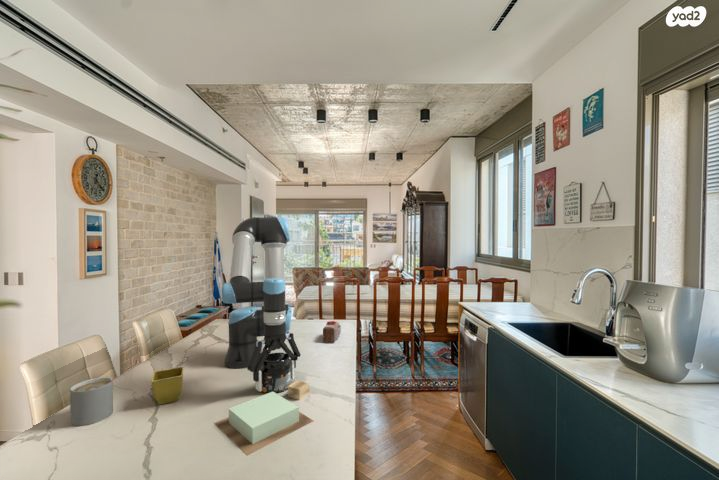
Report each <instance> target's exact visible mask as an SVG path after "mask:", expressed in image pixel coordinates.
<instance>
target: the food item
mask: <svg viewBox="0 0 719 480" xmlns="http://www.w3.org/2000/svg"><path fill="white" fill-rule="evenodd" d="M341 331H342V325H341V324H340V322H337V321H335V320H333V321H332V320H330V321H327V322H326V325H324V327H323V328H322V343H325V344H335V342H336V341H338V340H339V338H340V335H341Z"/></svg>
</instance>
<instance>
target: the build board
mask: <svg viewBox="0 0 719 480" xmlns="http://www.w3.org/2000/svg"><path fill="white" fill-rule="evenodd" d="M313 422H314V420H313V419H311V418H310V417H308V416H307V415H305V414H304V413H302V412H300V411H299V421H298V422H296V423H294V424H292V425H290V426H288V427H286V428H284V429H282V430H280V431H278V432H276V433H274V434H272V435H270V436H268V437H266V438H264V439H262V440H260V441H258V442H256V443H254V444H252V443H251V442H250V441H249V440H248V439H247V438H245V437H244V436H243V435H242V434H241V433H240V432H239V431H238V430H236V429H235V428H234V427H233V426H232V425H231V424H230V423H229V416H228V417H225V418H223V419H220V420H217V421H215V422H214V424H213V425H215V426H216V427H217V428H218V429H219V430H220V431H221V432H222V433H223V434H224V435H225V436H226V437H227V438H229V440H231V441H232V443H234V444H235V446H237V447H238V449H239V450H241V451H242V452H243V453H244V454H245V455H246V456H249V455H251V454H253V453H255V452H257V451H258V450H261V449H263V448H264V447H267V446H269V445H271V444H272V443H274V442H276V441H279V440H280V439H282V438H284V437H287V435H290V434H292V433H294V432H296V431H298V430H299V429H302V428H303V427H305V426H307V425H309V424H311V423H313Z"/></svg>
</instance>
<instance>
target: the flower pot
mask: <svg viewBox="0 0 719 480" xmlns="http://www.w3.org/2000/svg"><path fill="white" fill-rule="evenodd" d="M183 377H184V366H179V367H174V368H173V367H172V368H169V369H162V370H158V371H156V370H155V371H154V372H153V375H152V378H151V381H150V382H151V386H152V387H151V388H152V393H153V397H154V400H155V401H156V402H157V404H158V405H164V404H165V405H166V404H169V403H174V402H178V400H179V399H180V396H181V394H182V390H183V389H182V388H183V379H184V378H183Z"/></svg>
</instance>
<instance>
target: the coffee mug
mask: <svg viewBox="0 0 719 480" xmlns="http://www.w3.org/2000/svg"><path fill="white" fill-rule="evenodd" d="M113 384H114V383H113V378H112V377H108V376H103V377H96V378H91V379H86V380H83V381H81V382H80V381H79V382H78V383H76V384H74V385H73V386H71V387H70V389H69V395H70V398H69V399H70V400H69V401H70V405H69V407H70V425H71V426H74V427H84V426H90V425H93V424H96V423H99V422H101V421H104V420H106V419H107V418H109V417H110V416H112V414H114V413H113V412H114V393H113V392H114V389H113V387H114V385H113Z"/></svg>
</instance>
